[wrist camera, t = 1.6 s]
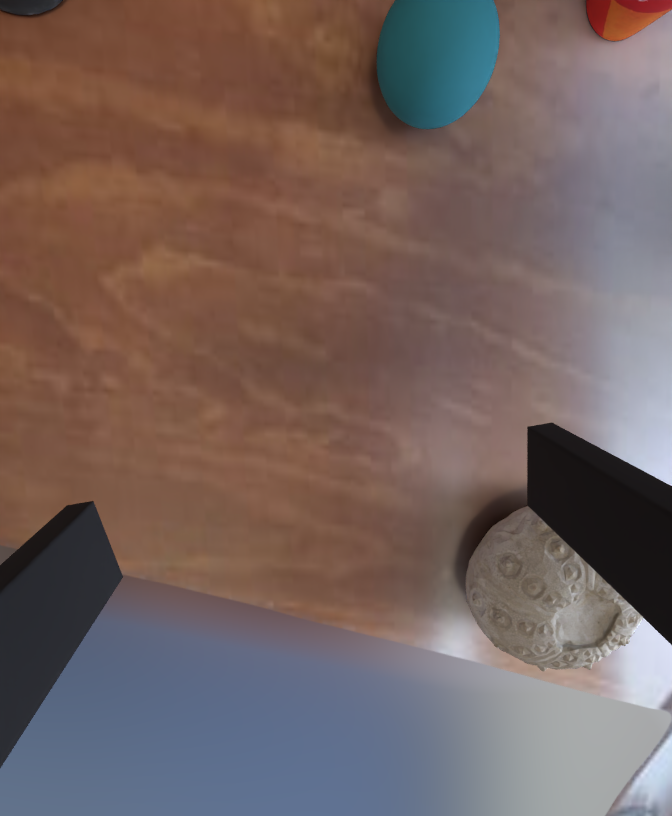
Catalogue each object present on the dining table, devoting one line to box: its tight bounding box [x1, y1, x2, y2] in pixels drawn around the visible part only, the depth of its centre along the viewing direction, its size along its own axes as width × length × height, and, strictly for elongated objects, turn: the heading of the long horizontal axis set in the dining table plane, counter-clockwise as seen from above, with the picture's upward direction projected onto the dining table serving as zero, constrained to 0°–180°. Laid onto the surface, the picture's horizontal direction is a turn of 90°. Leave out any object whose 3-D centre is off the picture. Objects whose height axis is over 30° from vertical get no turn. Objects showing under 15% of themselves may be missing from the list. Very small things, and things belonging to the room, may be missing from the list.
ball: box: [377, 0, 500, 129], centre depth 26 cm, size 8×8×8 cm
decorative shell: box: [466, 506, 643, 671], centre depth 39 cm, size 18×18×10 cm
